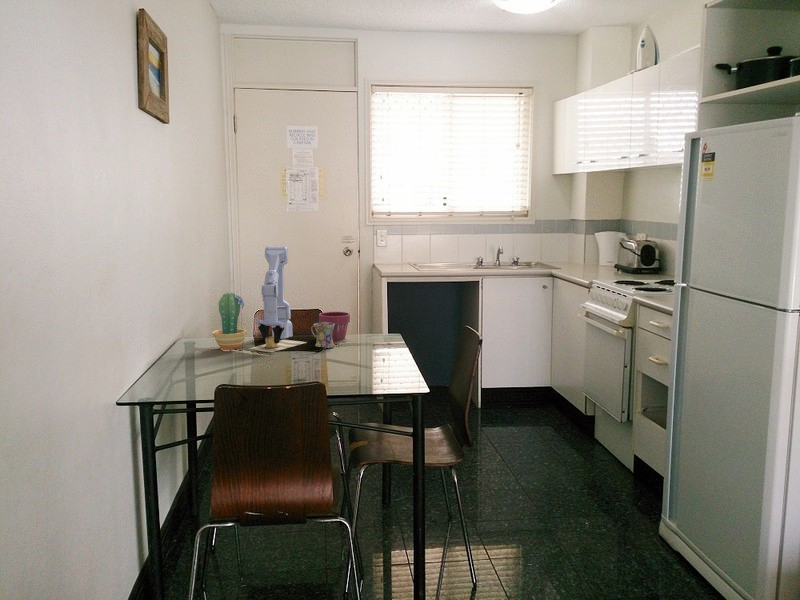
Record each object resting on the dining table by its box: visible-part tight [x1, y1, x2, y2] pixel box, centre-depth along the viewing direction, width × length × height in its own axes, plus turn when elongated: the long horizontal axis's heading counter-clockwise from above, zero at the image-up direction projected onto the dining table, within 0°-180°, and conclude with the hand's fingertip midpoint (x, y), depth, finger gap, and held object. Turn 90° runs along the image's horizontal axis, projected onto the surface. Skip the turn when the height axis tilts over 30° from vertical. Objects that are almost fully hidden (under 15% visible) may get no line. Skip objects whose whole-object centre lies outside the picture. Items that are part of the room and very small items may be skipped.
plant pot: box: [318, 311, 351, 341], centre depth 315 cm, size 14×14×13 cm
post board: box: [246, 338, 308, 355], centre depth 300 cm, size 24×14×5 cm, turn 148°
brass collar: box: [265, 336, 278, 348], centre depth 296 cm, size 5×5×4 cm
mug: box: [310, 322, 335, 350], centre depth 301 cm, size 12×9×11 cm
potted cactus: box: [211, 292, 248, 351], centre depth 297 cm, size 15×15×25 cm
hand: (271, 342), depth 296 cm, fingers open, 6 cm apart
